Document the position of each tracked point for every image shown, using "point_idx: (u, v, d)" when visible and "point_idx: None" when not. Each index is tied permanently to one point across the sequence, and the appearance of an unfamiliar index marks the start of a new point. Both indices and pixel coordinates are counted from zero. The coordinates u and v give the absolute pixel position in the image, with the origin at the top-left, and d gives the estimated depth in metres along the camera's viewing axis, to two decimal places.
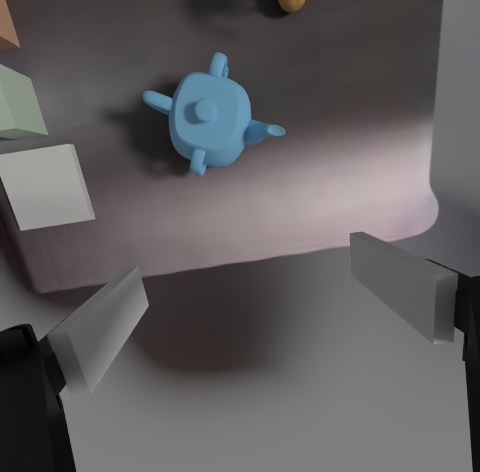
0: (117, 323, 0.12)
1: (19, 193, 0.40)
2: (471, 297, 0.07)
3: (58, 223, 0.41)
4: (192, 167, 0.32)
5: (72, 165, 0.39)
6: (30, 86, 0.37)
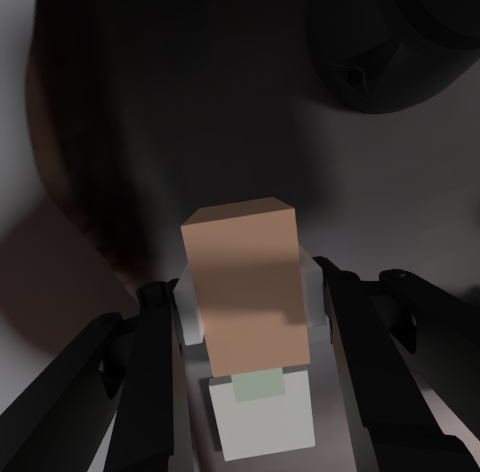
0: None
1: (233, 423, 0.31)
2: (330, 291, 0.09)
3: (273, 451, 0.32)
4: None
5: (306, 392, 0.31)
6: None
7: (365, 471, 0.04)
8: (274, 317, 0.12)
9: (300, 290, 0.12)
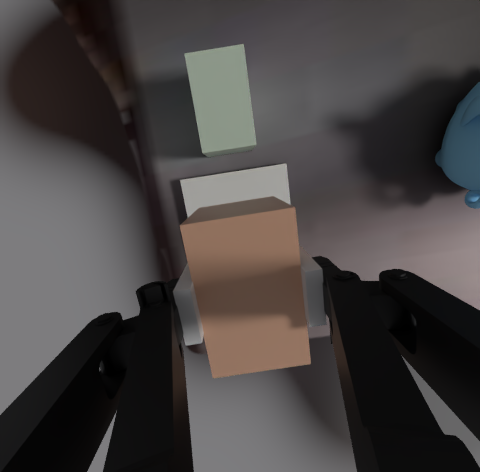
0: None
1: None
2: (330, 291, 0.09)
3: None
4: None
5: (285, 192, 0.28)
6: None
7: (365, 471, 0.04)
8: (274, 318, 0.12)
9: (301, 290, 0.11)
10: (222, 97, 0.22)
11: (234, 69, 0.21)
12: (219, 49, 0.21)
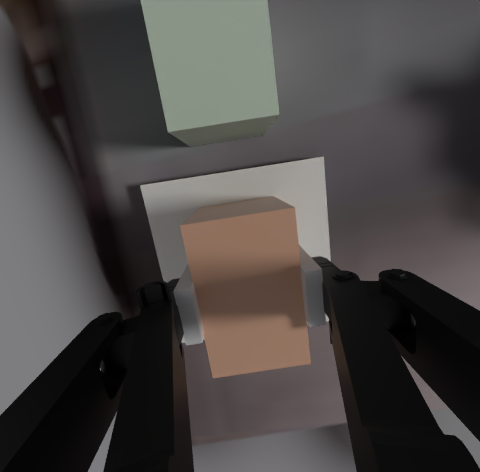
0: None
1: None
2: (329, 291, 0.09)
3: None
4: None
5: (320, 206, 0.17)
6: None
7: (365, 471, 0.04)
8: (274, 318, 0.12)
9: (300, 290, 0.12)
10: (208, 9, 0.10)
11: None
12: None
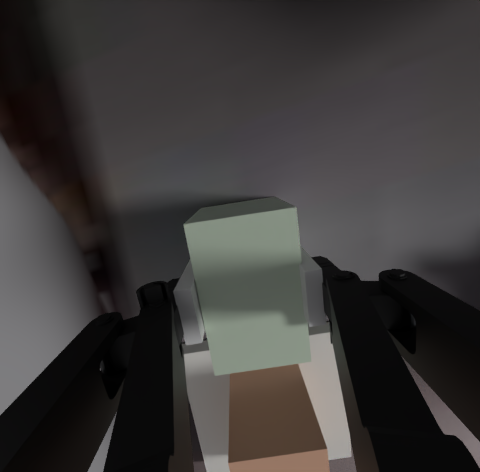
0: None
1: (219, 418, 0.19)
2: (329, 291, 0.09)
3: None
4: None
5: None
6: None
7: (365, 471, 0.04)
8: None
9: None
10: (253, 292, 0.12)
11: (277, 248, 0.11)
12: (250, 216, 0.11)
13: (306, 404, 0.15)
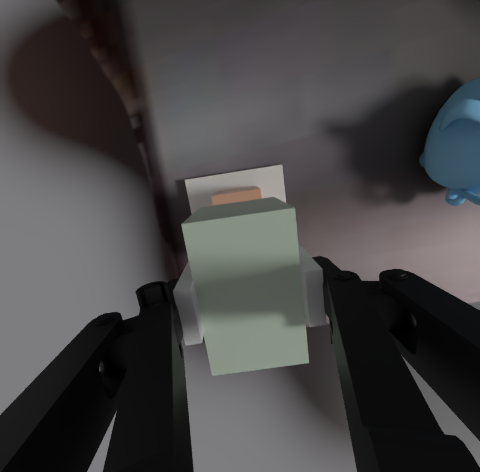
0: None
1: None
2: (330, 291, 0.09)
3: None
4: None
5: (281, 191, 0.31)
6: None
7: (365, 471, 0.04)
8: None
9: None
10: (251, 292, 0.12)
11: (275, 249, 0.11)
12: (248, 216, 0.11)
13: (255, 187, 0.27)
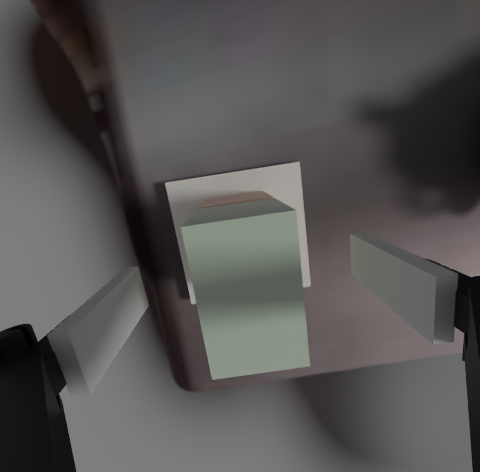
0: (117, 323, 0.12)
1: None
2: (471, 297, 0.07)
3: None
4: None
5: (298, 198, 0.22)
6: None
7: None
8: None
9: None
10: (252, 296, 0.11)
11: (276, 252, 0.11)
12: (248, 219, 0.11)
13: (263, 194, 0.19)
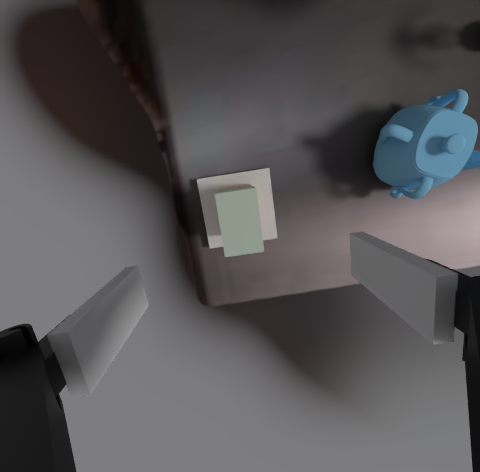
0: (117, 323, 0.12)
1: (215, 213, 0.42)
2: (471, 297, 0.07)
3: None
4: (417, 193, 0.35)
5: (268, 187, 0.41)
6: None
7: None
8: None
9: None
10: (240, 221, 0.30)
11: (249, 203, 0.30)
12: (239, 191, 0.29)
13: (248, 184, 0.38)
